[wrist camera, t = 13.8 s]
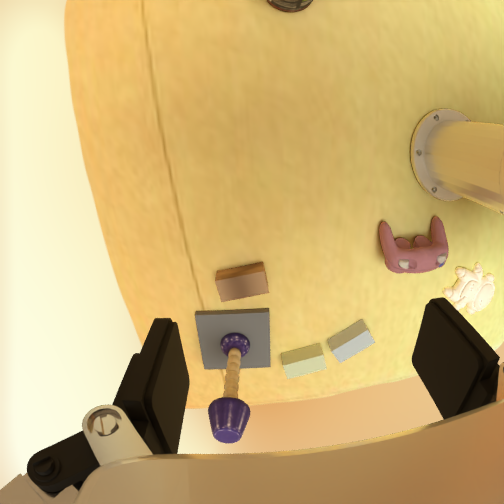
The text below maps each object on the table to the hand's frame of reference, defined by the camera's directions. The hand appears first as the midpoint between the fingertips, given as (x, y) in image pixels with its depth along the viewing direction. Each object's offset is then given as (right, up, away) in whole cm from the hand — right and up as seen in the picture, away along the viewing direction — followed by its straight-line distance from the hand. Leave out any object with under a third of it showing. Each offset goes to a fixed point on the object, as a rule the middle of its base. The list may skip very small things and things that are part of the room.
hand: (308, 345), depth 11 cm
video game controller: (+19, +5, +29) cm, 35 cm away
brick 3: (+13, -9, +35) cm, 38 cm away
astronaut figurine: (+34, -2, +33) cm, 47 cm away
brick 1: (-3, 0, +31) cm, 31 cm away
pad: (-4, -9, +34) cm, 36 cm away
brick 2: (+6, -12, +36) cm, 38 cm away
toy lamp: (-5, -10, +33) cm, 35 cm away
